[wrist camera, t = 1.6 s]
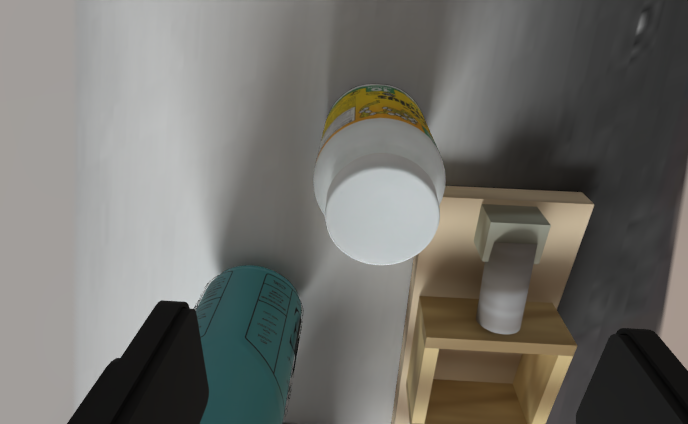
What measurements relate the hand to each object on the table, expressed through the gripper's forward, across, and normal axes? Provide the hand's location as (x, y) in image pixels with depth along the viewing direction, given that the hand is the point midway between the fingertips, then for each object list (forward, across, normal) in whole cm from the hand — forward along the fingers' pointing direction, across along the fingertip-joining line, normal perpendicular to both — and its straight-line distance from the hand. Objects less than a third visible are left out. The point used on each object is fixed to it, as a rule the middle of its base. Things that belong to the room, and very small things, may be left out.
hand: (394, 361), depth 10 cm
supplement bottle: (+16, 0, -1) cm, 16 cm away
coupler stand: (+16, -7, +13) cm, 22 cm away
